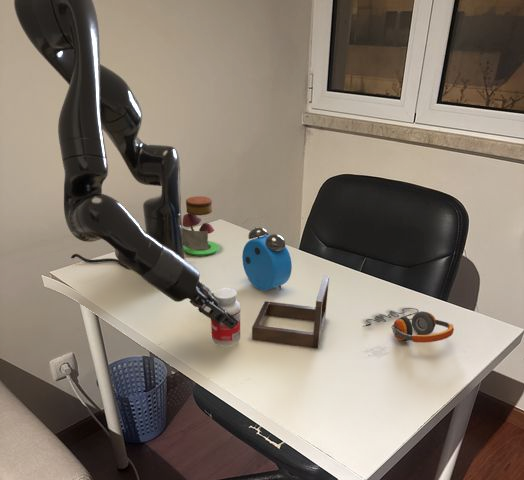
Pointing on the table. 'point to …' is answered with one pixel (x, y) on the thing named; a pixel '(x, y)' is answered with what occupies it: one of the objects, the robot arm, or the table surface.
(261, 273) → the alarm clock
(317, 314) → the wooden frame
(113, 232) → the robot arm
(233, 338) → the pill bottle
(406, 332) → the headphones
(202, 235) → the multicoloured stacked figure
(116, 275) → the table surface
